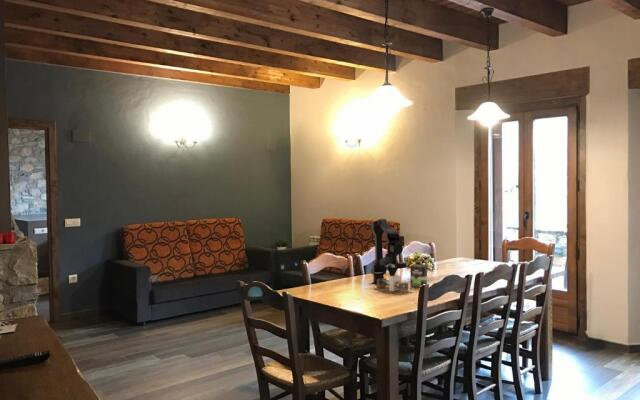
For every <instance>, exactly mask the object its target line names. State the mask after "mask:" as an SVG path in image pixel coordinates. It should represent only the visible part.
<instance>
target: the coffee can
mask: <svg viewBox="0 0 640 400" xmlns="http://www.w3.org/2000/svg"><path fill="white" fill-rule="evenodd" d="M409 267H410V281H409V283H410V285H409V286H410V289H411V290H415V291H416V290H417V291H420V290H419V288H420V286H421V285H423V284H427V285H428V265H427V264H422V263H421V264H420V263H418V264H417V263H416V264H415V263H413V264H410V266H409Z"/></svg>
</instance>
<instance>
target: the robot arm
mask: <svg viewBox="0 0 640 400" xmlns="http://www.w3.org/2000/svg"><path fill="white" fill-rule="evenodd" d="M370 229H371V233H372V234H373V235H374V250H375V251H374V255H375V259H374V261H373V262H372V266H371V269H370V273H371V275H373V279H372V280H373V281H372V282H371V284H373V285H377V279H383V278H385V275H387V271H388V273H389V276H393V275H396V274H397V273H396V272H397V271H398V270H399V269H406V268H407V263H406V262H402V261H401V262H399V260H398V257H397V256H399V255H401V254H402V253H403V250H404V248H403V246H402V245H401V244H402V243H401V241H402V240H401V237H400V235H399V232H398V231H397V230H396V229H394V228H392V227H391V225H390V224H389V223H388V221H387V218H379V219H377V220H375V221H373V222H372V223H371V224H370ZM383 235H384V239H385V241H386V253H385V255H384V254H383V253H384V252H383V251H384V250H383Z"/></svg>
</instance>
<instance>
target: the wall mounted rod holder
mask: <svg viewBox="0 0 640 400" xmlns="http://www.w3.org/2000/svg"><path fill="white" fill-rule="evenodd" d="M383 279H384V280H387V278H385V277H384V278H383ZM381 280H382V279H377V284H376V287H374V288H373V290H374V291H378V292H384V293H387V294H392V295H395V296H396V295H397V296H404V295H409V293H410V294H412V293H413V292H412V291H409V283H408V282H403V283H402V282H401V283H400V284H399V290H398V291H399V292H396V291H389V286H387V285H384V284H381ZM403 285H405V286H406V287H403ZM404 288H405V289H404ZM392 292H395V293H392Z"/></svg>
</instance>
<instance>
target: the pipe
mask: <svg viewBox="0 0 640 400" xmlns="http://www.w3.org/2000/svg"><path fill="white" fill-rule="evenodd" d="M381 284H384V285H386V286H387V287H389V279H386V280H384V279H382V280H381ZM399 284H400V282H396V281H395V287H397V288H399ZM403 287H406V286H405V285H403ZM404 289H405V288H404ZM396 292H399V291H396ZM392 293H395V292H392ZM392 293H391V294H392Z"/></svg>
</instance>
